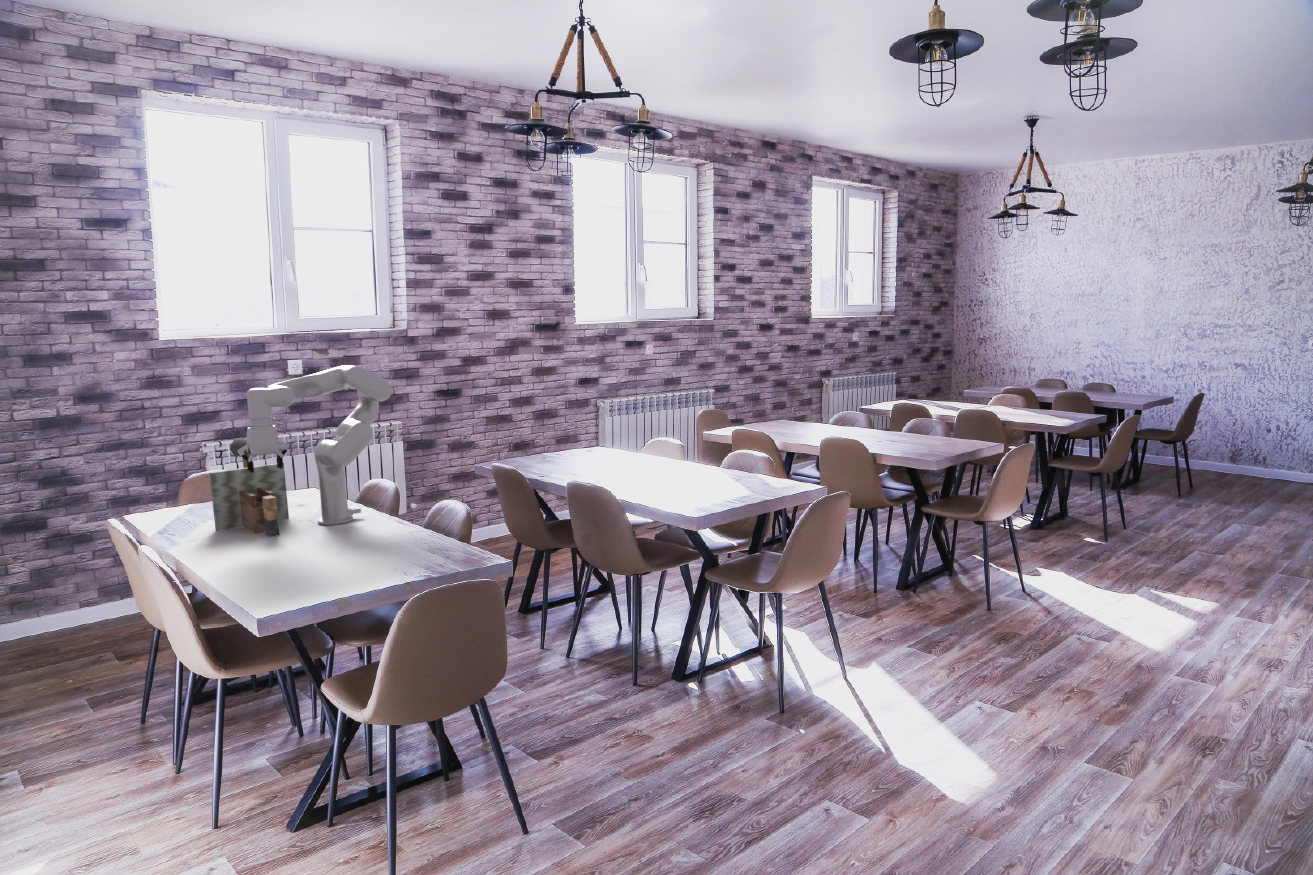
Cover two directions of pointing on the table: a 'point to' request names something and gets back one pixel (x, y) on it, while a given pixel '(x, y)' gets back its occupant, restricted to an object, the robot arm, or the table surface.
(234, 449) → the rubber mallet
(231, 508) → the grey patterned screen
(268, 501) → the brown and grey block
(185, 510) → the table surface
